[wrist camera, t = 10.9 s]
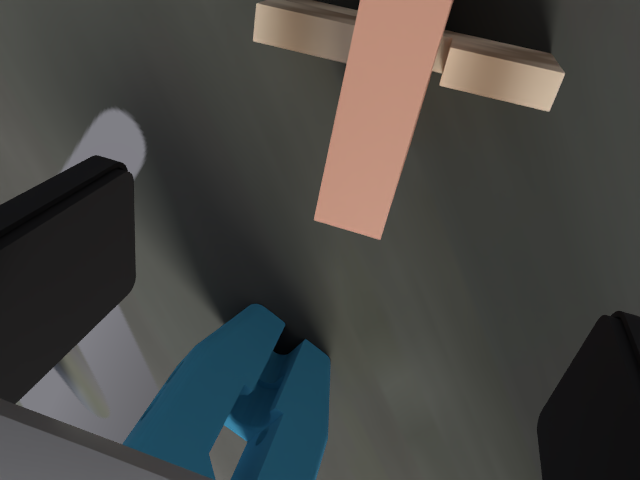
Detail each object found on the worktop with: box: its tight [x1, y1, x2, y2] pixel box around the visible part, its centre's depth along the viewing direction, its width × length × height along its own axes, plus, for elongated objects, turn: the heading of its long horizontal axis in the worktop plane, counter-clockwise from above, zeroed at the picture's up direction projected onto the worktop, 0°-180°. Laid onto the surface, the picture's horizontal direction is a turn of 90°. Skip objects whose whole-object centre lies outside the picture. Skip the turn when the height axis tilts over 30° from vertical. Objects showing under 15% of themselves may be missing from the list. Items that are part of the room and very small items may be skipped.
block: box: [122, 304, 330, 480], centre depth 35 cm, size 12×5×20 cm, turn 53°
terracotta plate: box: [314, 0, 454, 240], centre depth 24 cm, size 3×12×12 cm, turn 169°
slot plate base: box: [253, 0, 565, 111], centre depth 27 cm, size 15×2×5 cm, turn 80°
